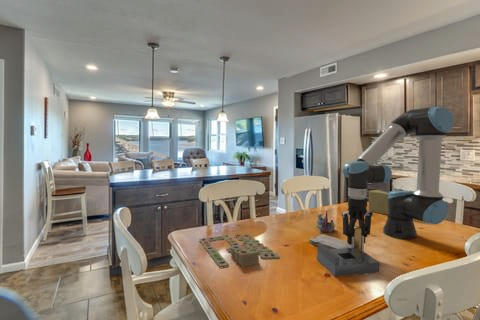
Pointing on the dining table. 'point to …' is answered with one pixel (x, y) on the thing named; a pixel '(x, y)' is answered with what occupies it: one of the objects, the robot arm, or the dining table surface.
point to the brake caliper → (325, 224)
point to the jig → (346, 261)
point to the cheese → (378, 201)
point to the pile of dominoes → (239, 250)
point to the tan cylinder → (357, 236)
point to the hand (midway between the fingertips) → (356, 250)
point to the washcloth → (329, 242)
